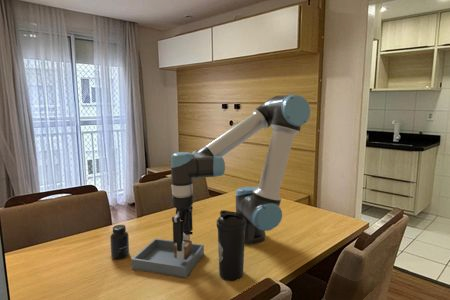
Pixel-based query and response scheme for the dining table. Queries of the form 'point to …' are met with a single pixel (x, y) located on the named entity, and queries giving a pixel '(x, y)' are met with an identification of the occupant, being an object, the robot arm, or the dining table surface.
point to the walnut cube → (186, 249)
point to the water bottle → (231, 244)
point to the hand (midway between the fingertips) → (183, 254)
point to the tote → (166, 259)
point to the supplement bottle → (119, 242)
